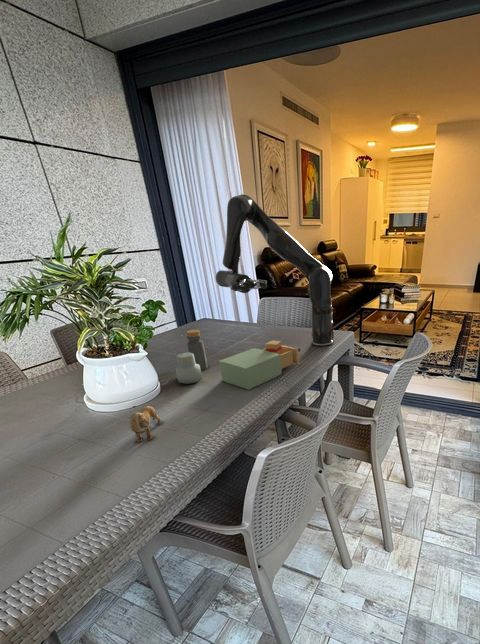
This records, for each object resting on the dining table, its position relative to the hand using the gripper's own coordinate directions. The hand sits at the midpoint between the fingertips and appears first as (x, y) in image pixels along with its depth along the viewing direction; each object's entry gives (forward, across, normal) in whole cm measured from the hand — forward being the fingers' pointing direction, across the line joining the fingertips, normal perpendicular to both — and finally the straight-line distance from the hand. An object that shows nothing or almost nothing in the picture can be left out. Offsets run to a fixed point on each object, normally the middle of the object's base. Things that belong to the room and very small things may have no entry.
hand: (255, 287), depth 139 cm
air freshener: (+10, -34, +28) cm, 45 cm away
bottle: (0, -27, +28) cm, 39 cm away
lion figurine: (+42, -53, +28) cm, 73 cm away
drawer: (+17, -1, +27) cm, 32 cm away
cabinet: (+21, -14, +28) cm, 38 cm away
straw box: (+17, -2, +26) cm, 31 cm away
